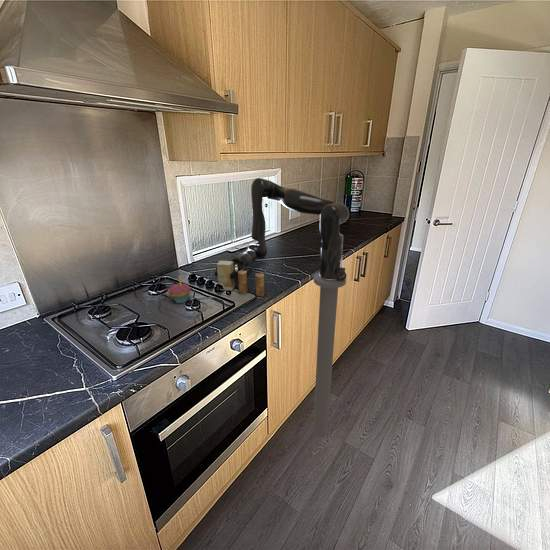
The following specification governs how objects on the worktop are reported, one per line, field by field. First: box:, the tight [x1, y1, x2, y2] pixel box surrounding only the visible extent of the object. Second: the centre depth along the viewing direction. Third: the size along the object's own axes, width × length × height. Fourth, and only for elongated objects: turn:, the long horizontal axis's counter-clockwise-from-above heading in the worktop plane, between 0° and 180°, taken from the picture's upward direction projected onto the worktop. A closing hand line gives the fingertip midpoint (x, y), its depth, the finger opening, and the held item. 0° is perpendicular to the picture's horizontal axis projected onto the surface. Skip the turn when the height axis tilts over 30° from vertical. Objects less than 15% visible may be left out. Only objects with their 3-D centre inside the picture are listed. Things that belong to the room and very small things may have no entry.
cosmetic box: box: [216, 260, 236, 292], centre depth 126 cm, size 6×4×12 cm
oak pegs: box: [237, 271, 266, 297], centre depth 122 cm, size 12×4×9 cm, turn 68°
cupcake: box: [167, 275, 192, 304], centre depth 116 cm, size 9×8×12 cm
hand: (223, 275), depth 123 cm, fingers closed on cosmetic box, 6 cm apart
